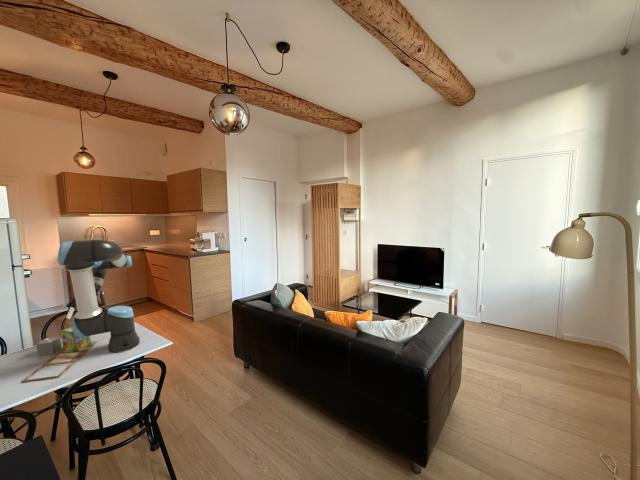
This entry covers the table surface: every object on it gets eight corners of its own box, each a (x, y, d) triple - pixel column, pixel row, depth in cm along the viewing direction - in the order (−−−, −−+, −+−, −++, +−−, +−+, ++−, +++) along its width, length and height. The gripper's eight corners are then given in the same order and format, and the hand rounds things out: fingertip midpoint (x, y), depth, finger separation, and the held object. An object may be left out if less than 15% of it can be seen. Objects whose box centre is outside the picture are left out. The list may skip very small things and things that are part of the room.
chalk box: (62, 350, 154) (58, 325, 152) (80, 342, 162) (77, 318, 160) (74, 352, 151) (71, 327, 149) (92, 344, 160) (89, 320, 158)
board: (58, 377, 131) (58, 375, 131) (21, 382, 127) (21, 380, 127) (97, 341, 164) (97, 340, 164) (69, 345, 161) (69, 343, 161)
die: (53, 354, 151) (51, 342, 150) (38, 356, 150) (36, 344, 149) (61, 347, 158) (60, 336, 157) (47, 349, 156) (45, 337, 155)
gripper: (118, 287, 179) (107, 318, 166) (75, 289, 175) (61, 321, 162) (113, 281, 173) (101, 313, 160) (68, 283, 169) (52, 316, 156)
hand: (81, 317), depth 161 cm, fingers open, 13 cm apart
